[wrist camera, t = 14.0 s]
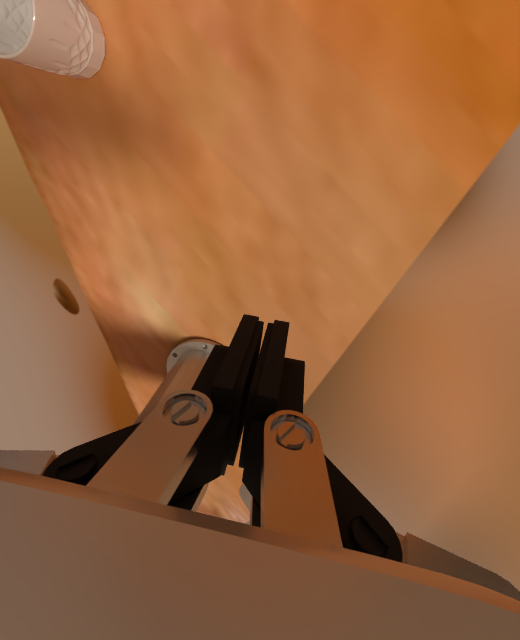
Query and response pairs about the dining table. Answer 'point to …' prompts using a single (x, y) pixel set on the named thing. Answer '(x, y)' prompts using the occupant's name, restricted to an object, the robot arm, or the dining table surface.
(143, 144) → the dining table surface
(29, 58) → the white cup
